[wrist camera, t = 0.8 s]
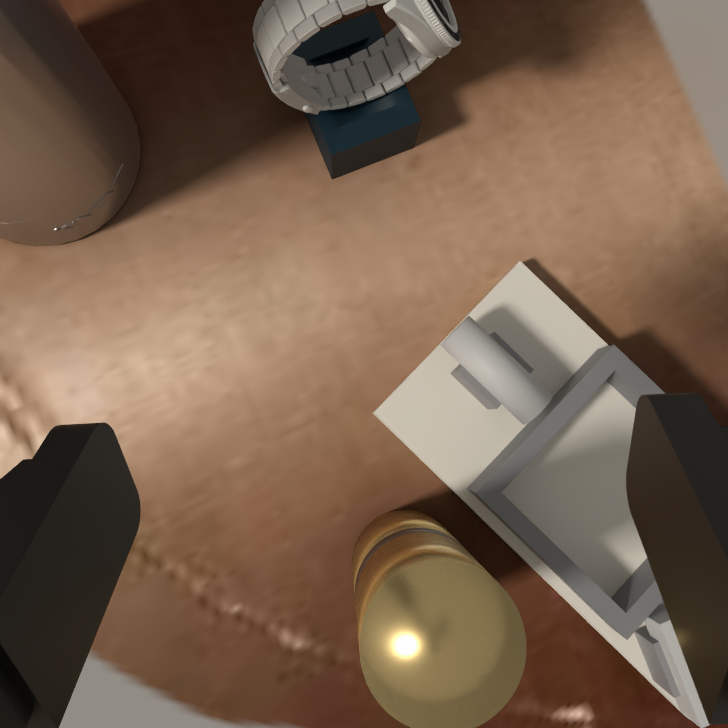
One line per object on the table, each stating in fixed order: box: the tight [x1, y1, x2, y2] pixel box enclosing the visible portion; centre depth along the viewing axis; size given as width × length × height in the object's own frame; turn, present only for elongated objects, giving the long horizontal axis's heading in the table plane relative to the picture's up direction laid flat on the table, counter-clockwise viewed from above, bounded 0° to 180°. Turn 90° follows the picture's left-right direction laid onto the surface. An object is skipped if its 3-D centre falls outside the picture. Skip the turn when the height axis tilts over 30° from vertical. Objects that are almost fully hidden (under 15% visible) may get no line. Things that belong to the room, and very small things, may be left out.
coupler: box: [352, 510, 526, 728], centre depth 27 cm, size 5×5×12 cm
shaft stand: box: [373, 261, 710, 728], centre depth 31 cm, size 20×10×4 cm, turn 46°
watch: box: [253, 0, 461, 179], centre depth 29 cm, size 6×8×11 cm
